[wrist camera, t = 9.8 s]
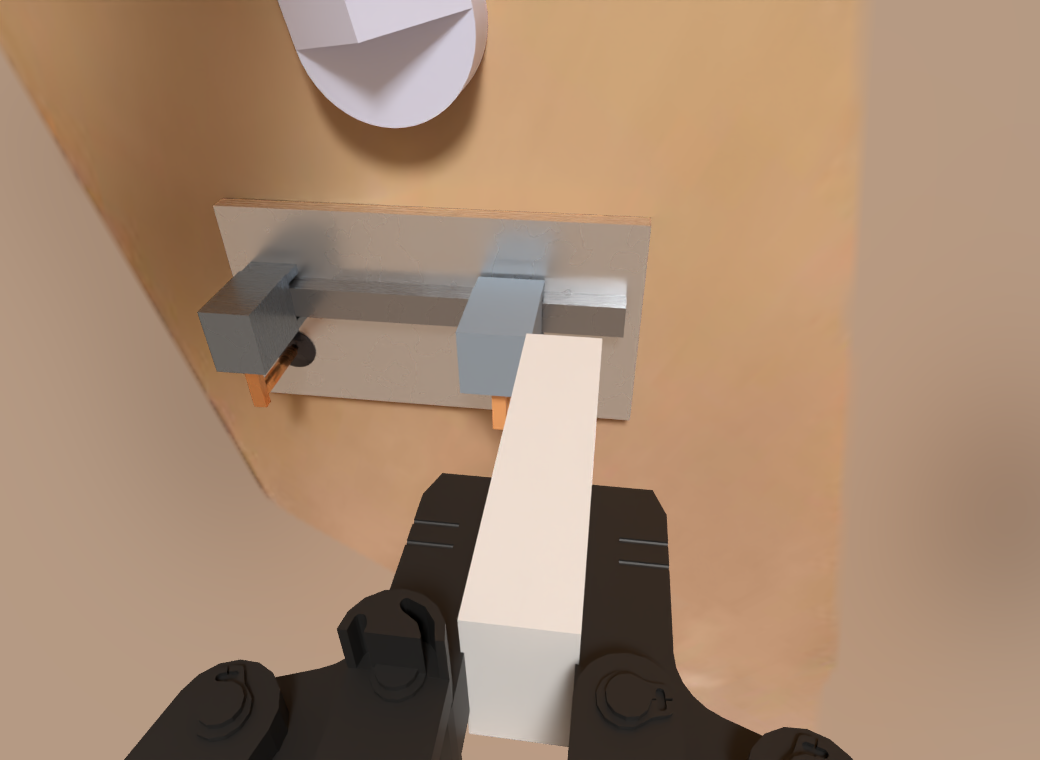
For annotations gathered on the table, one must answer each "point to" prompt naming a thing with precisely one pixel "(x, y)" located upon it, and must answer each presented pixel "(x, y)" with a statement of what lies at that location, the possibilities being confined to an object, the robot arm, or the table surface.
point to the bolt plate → (441, 263)
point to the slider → (497, 337)
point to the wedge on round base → (389, 54)
